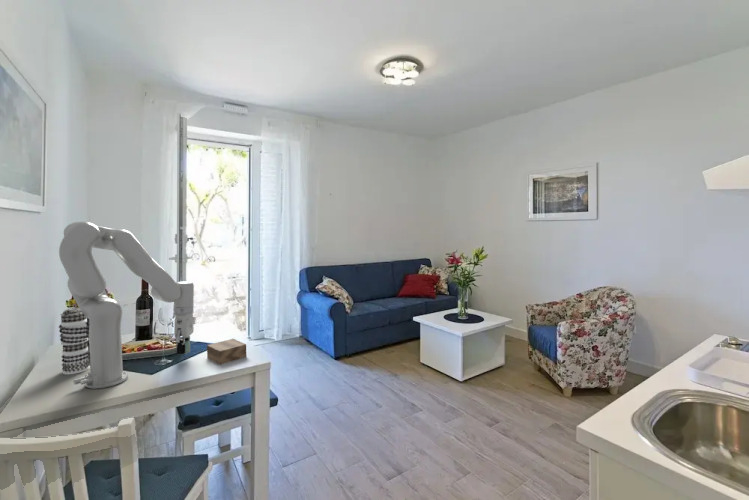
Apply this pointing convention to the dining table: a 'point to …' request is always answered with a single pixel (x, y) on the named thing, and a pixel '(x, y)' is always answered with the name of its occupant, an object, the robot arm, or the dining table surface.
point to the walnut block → (226, 351)
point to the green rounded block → (187, 346)
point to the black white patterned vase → (74, 341)
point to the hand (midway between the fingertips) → (183, 351)
